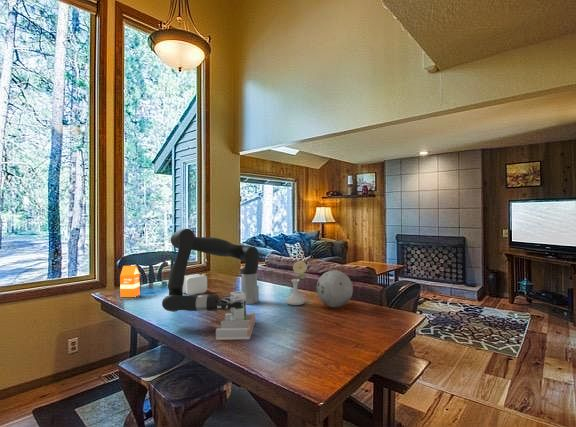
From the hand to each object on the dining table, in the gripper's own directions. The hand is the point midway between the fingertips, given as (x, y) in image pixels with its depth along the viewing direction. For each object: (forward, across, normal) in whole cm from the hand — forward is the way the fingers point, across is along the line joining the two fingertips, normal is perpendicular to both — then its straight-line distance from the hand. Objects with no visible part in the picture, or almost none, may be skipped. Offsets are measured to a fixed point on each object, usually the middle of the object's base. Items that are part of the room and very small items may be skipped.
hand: (242, 302), depth 148 cm
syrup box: (-2, 0, +10) cm, 10 cm away
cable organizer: (-42, +64, +11) cm, 78 cm away
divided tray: (-2, -5, +11) cm, 12 cm away
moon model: (+47, +28, +11) cm, 56 cm away
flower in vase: (+26, +34, +11) cm, 45 cm away
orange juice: (-81, +58, +11) cm, 100 cm away
